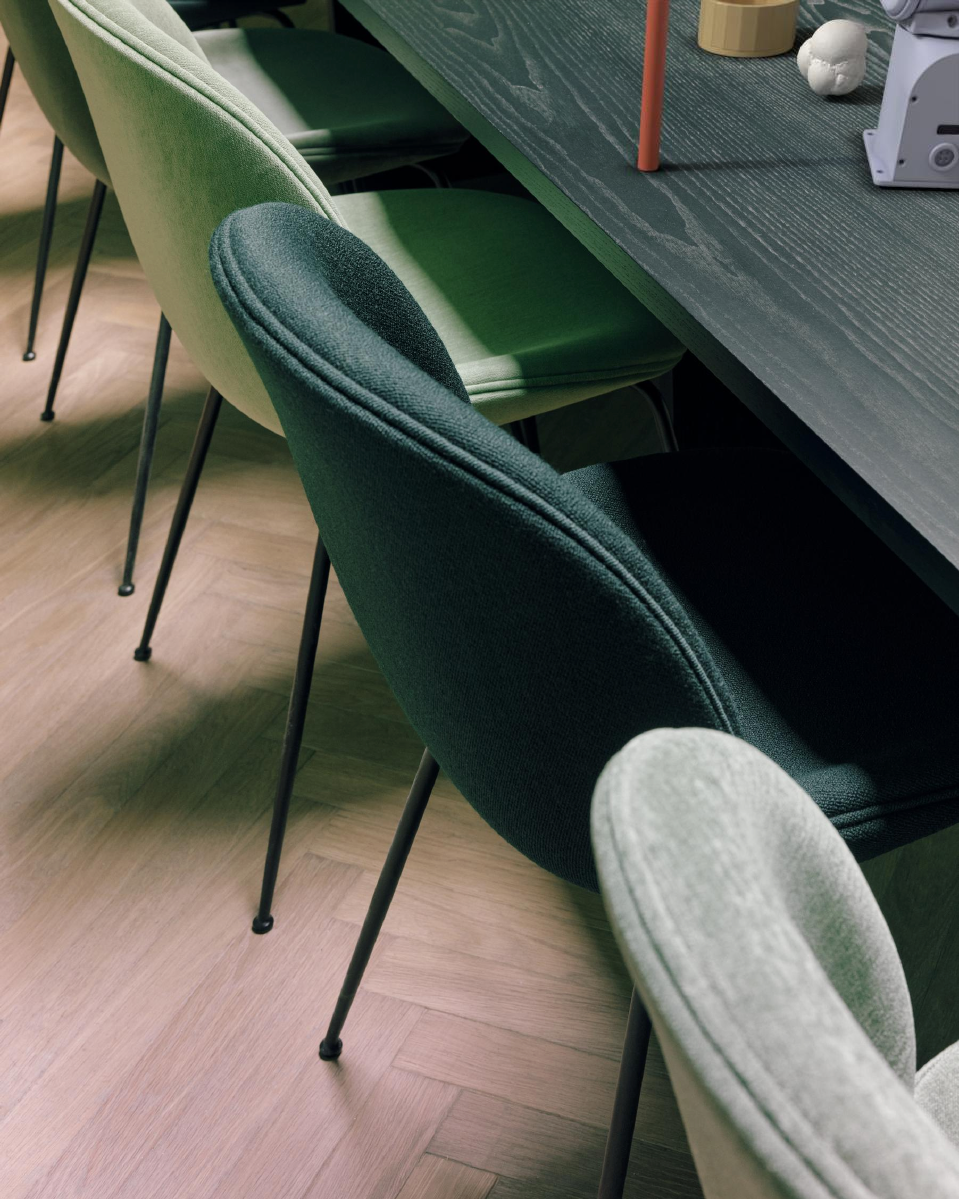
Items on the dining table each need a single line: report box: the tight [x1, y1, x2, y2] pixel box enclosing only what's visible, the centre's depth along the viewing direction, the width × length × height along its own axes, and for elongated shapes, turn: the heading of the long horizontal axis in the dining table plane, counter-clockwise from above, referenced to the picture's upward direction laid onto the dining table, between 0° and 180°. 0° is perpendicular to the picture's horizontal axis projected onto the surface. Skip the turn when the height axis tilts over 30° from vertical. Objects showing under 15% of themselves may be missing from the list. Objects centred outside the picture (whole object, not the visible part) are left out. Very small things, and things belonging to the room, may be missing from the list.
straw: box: [637, 0, 671, 172], centre depth 80 cm, size 1×1×11 cm
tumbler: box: [697, 0, 801, 58], centre depth 103 cm, size 8×8×4 cm
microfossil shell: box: [796, 18, 868, 96], centre depth 92 cm, size 4×5×6 cm
